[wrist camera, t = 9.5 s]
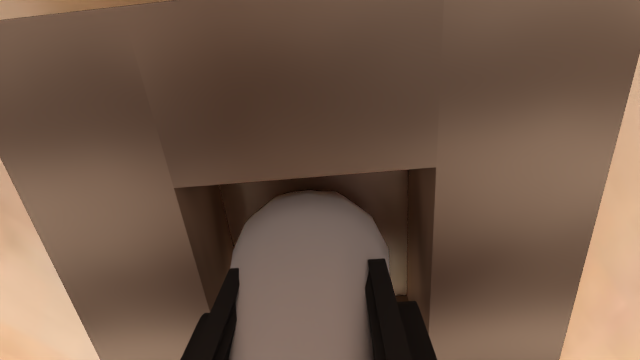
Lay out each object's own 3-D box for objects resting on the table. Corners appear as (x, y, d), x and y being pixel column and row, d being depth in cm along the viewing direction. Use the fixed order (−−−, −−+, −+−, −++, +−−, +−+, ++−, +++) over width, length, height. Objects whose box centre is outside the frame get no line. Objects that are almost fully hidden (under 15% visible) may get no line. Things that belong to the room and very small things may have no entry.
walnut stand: (45, 33, 12) (-65, 27, 8) (563, -24, 11) (667, -56, 7) (176, 377, 18) (144, 448, 15) (499, 362, 17) (539, 435, 14)
